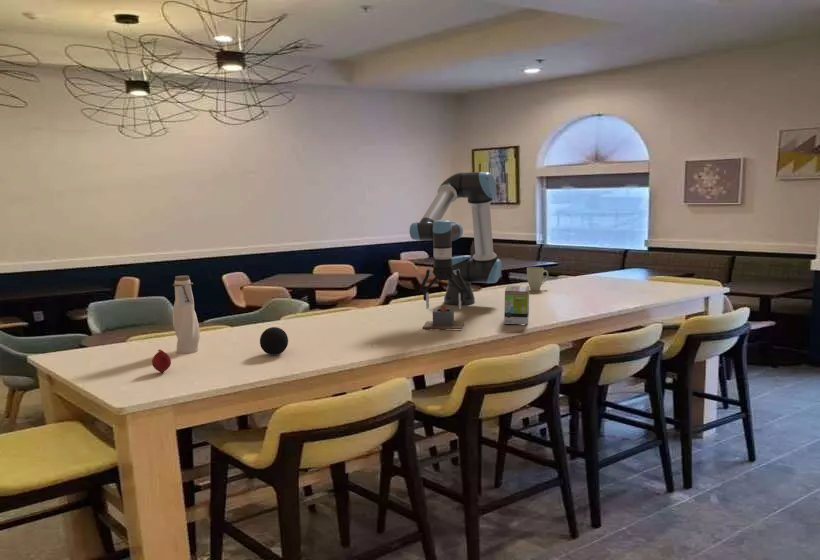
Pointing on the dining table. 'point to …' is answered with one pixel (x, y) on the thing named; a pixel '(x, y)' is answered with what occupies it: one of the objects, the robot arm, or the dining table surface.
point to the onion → (161, 361)
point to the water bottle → (185, 317)
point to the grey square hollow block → (443, 317)
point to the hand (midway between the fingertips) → (443, 308)
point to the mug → (535, 277)
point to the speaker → (273, 341)
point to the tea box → (516, 305)
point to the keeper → (429, 325)
